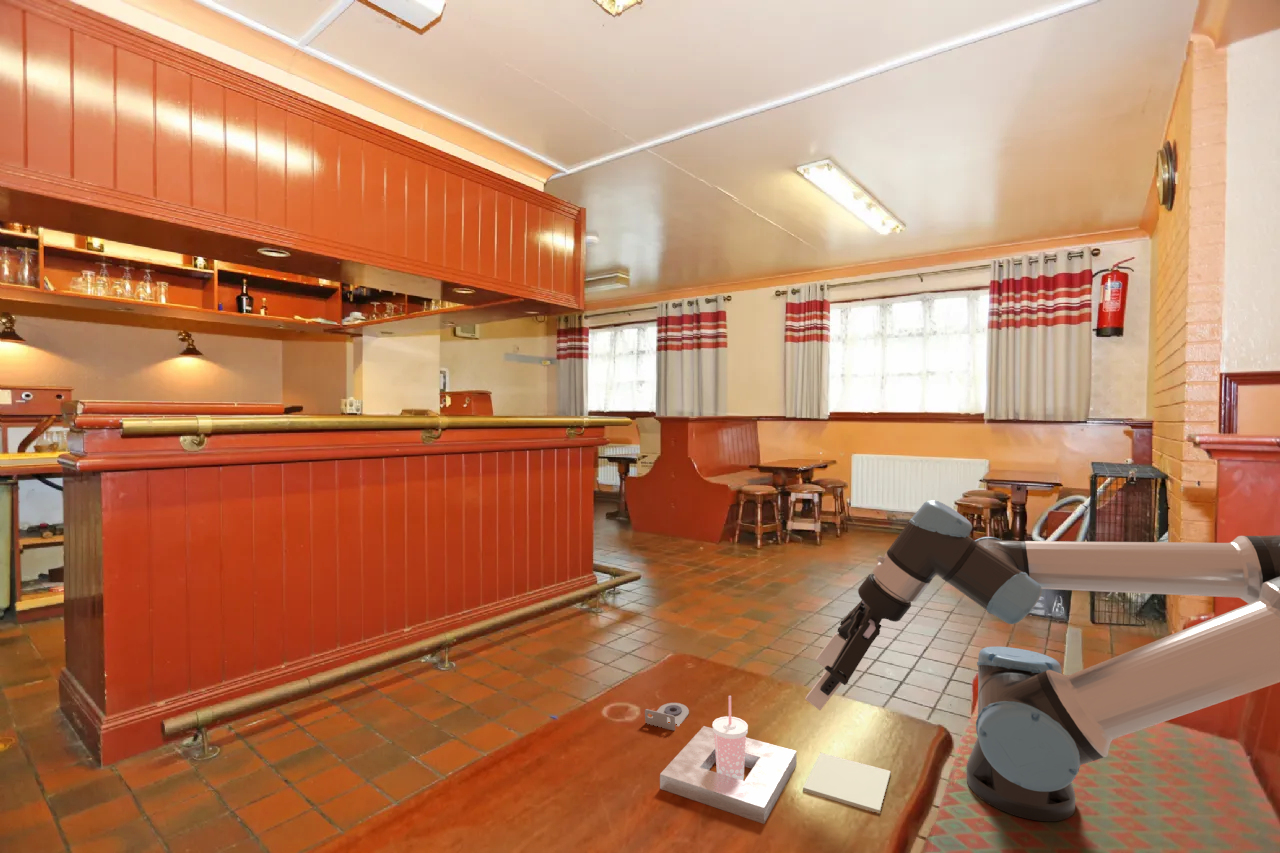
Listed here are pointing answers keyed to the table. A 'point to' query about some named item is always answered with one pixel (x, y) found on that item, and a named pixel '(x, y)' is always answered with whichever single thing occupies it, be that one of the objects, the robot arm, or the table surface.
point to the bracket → (667, 715)
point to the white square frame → (726, 792)
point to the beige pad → (848, 782)
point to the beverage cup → (730, 745)
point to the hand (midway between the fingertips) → (817, 683)
